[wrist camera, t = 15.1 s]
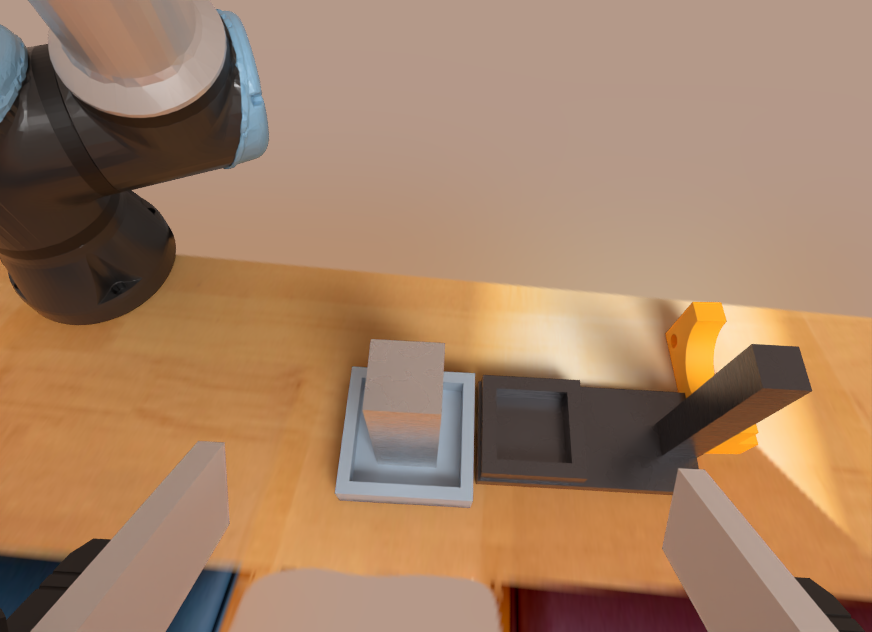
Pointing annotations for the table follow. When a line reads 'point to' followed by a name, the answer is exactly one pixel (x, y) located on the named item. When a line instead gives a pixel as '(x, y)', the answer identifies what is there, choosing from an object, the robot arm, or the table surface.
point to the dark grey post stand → (624, 425)
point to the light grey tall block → (404, 401)
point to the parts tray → (410, 483)
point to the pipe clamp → (702, 360)
